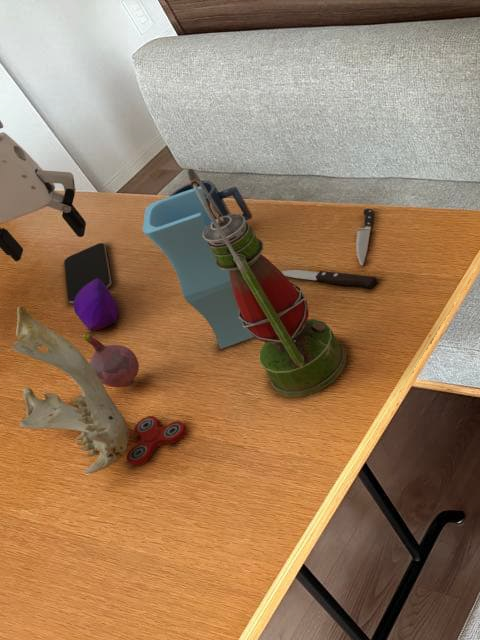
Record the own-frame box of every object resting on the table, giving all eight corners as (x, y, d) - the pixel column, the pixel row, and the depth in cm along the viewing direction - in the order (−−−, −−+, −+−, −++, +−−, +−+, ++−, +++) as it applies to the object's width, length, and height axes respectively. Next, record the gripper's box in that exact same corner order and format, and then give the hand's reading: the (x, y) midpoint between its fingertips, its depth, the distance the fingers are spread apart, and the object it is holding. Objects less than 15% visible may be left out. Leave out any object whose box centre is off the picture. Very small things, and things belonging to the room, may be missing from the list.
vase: (272, 330, 115) (201, 215, 101) (220, 349, 115) (141, 236, 100) (270, 298, 120) (202, 185, 106) (220, 316, 120) (145, 204, 106)
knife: (351, 266, 120) (365, 268, 121) (351, 262, 120) (365, 264, 120) (361, 211, 130) (373, 212, 131) (361, 207, 130) (373, 209, 130)
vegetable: (128, 366, 116) (85, 316, 109) (159, 371, 114) (118, 319, 107) (101, 397, 113) (55, 347, 106) (132, 403, 110) (88, 351, 103)
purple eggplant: (102, 262, 130) (100, 305, 119) (120, 286, 133) (120, 330, 122) (73, 274, 129) (69, 319, 118) (92, 298, 133) (90, 344, 122)
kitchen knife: (372, 290, 116) (378, 281, 118) (369, 285, 116) (376, 276, 117) (276, 278, 124) (283, 269, 125) (273, 273, 123) (280, 264, 124)
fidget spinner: (122, 463, 101) (128, 469, 102) (177, 448, 101) (182, 455, 101) (135, 417, 106) (141, 423, 107) (187, 403, 106) (192, 410, 107)
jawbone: (146, 391, 96) (51, 405, 89) (145, 507, 104) (58, 528, 98) (83, 297, 110) (-3, 303, 103) (86, 407, 119) (8, 418, 112)
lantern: (358, 380, 104) (249, 181, 82) (282, 417, 102) (150, 224, 81) (332, 322, 113) (228, 130, 92) (262, 355, 112) (139, 168, 90)
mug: (194, 261, 132) (164, 216, 126) (194, 236, 138) (165, 191, 131) (259, 238, 133) (233, 192, 126) (257, 213, 138) (231, 168, 132)
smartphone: (67, 302, 131) (63, 258, 141) (70, 306, 131) (66, 261, 141) (110, 283, 132) (103, 241, 142) (113, 286, 132) (105, 244, 142)
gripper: (31, 105, 108) (109, 210, 121) (-92, 150, 108) (-1, 251, 120) (23, 128, 103) (105, 235, 116) (-106, 176, 102) (-10, 279, 115)
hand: (51, 243), depth 118 cm, fingers open, 9 cm apart
